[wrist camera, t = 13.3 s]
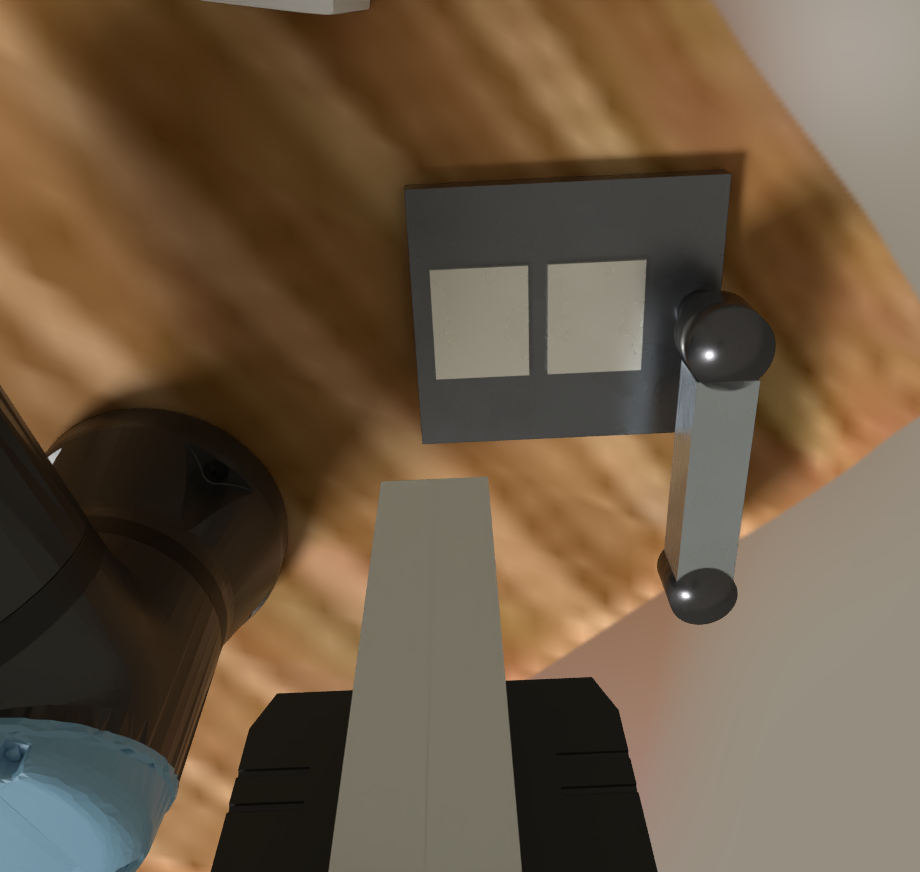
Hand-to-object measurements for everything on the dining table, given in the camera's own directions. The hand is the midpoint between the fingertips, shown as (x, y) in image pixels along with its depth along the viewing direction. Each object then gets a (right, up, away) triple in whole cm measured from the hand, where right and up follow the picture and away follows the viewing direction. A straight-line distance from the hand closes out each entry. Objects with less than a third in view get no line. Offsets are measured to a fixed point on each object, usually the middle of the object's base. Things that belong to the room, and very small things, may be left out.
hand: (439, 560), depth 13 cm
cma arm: (+13, +1, +34) cm, 36 cm away
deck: (+6, +9, +34) cm, 36 cm away
